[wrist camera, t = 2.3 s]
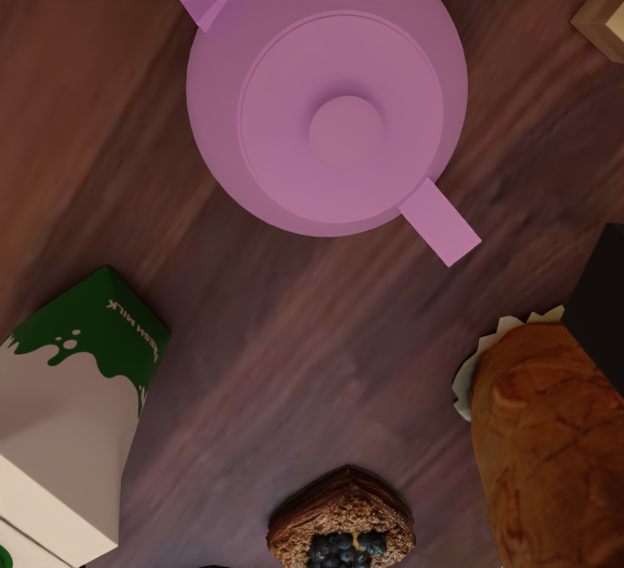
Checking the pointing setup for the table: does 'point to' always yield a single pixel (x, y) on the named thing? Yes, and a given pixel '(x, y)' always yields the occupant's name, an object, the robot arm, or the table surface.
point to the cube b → (603, 26)
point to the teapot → (331, 112)
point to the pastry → (342, 524)
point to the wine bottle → (213, 567)
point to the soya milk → (72, 420)
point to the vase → (546, 446)
